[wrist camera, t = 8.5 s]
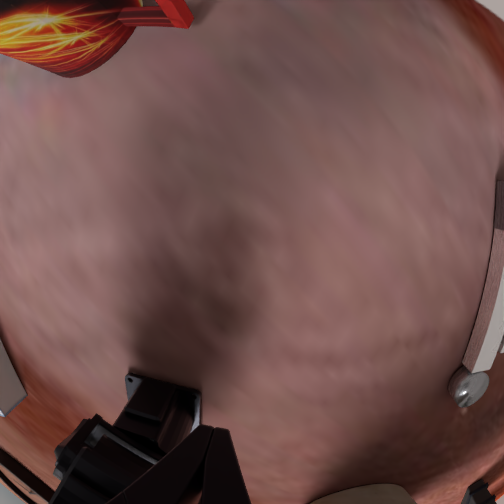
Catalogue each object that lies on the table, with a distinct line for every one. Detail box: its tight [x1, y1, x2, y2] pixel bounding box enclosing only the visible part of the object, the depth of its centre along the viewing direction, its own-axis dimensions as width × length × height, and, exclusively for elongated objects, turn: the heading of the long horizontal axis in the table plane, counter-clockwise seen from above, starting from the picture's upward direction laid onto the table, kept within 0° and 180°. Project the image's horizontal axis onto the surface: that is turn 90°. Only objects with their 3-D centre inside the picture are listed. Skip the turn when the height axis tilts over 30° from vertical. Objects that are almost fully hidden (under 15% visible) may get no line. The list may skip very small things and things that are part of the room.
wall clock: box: [0, 449, 55, 504], centre depth 35 cm, size 31×4×31 cm
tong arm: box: [448, 181, 504, 408], centre depth 16 cm, size 19×4×2 cm, turn 178°
